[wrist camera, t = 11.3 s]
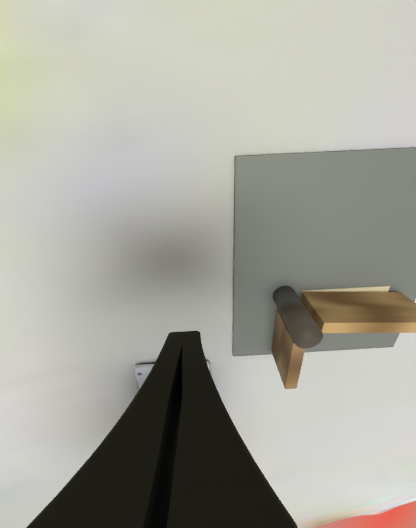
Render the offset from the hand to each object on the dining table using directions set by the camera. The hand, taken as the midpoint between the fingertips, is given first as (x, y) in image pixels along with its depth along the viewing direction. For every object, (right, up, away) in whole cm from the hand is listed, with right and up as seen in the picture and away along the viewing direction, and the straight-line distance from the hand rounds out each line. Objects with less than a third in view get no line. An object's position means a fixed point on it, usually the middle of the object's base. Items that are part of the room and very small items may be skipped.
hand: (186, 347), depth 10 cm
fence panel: (+14, +1, +10) cm, 17 cm away
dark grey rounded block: (+8, -2, +11) cm, 14 cm away
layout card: (+12, +3, +9) cm, 15 cm away
